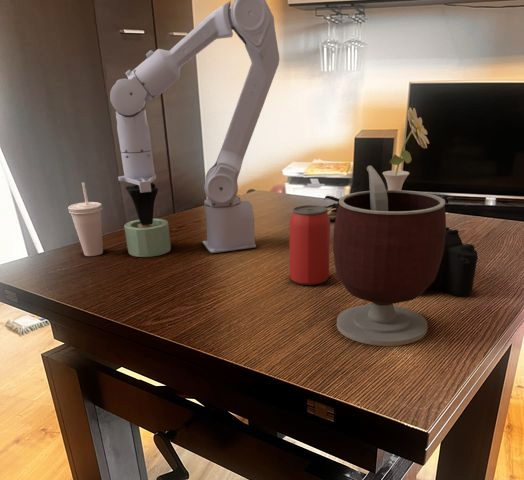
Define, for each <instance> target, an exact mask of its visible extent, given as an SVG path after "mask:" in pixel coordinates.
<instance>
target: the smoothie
mask: <svg viewBox="0 0 524 480" xmlns="http://www.w3.org/2000/svg"><path fill="white" fill-rule="evenodd" d="M81 186H82V187H81V188H82V191H83V197H84V201H83V202H77V203H73V204H70V205H69V206H68V207H67V209H68V213H69V214H70V215H71V218H72V222H73V225H74V227H75V231H76V234H77V237H78V239H79V243H80V245H81V246H80V247H81V249H82V252H83V255H84V256H86V257H94V256H95V257H96V256H100V255H102V254H103V253H104V246H103V245H104V243H103V224H102V211H103V206H102V203H101V202H97V201H89V198H88V194H87V193H88V192H87V187H86V182H84V181H83V182H81Z"/></svg>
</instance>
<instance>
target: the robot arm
mask: <svg viewBox="0 0 524 480" xmlns="http://www.w3.org/2000/svg"><path fill="white" fill-rule="evenodd" d="M231 2H232V0H229V1H227V2H225V3H223V4H222V5H221V6H219V7H217V8H216V9H214V10H213V11H212V12H211V13H210V14H208V15H207V16H206V17H204V19H202V20H201V22H199V23H198V25H196V26H195V27H194V28H193V29H191V31H190V32H188V33H187V34H186V35H185V36H184V37H183V38H181V40H179V41H178V42H177V43H176V44H175V45H174V46H173V47H171V48H170V50H166V49H163V48H157V49H156V50H155V51H153V49H150V50H149V51H148V52H146V54H145V56H146V58H145V60H143V61H142V62H141V63H140V64H139V65H137V66H136V67H135V68H134V69H128V70H127V71H126V72H125V73H124V74H125V75H126V77H127V78H120V79H117V80H116V81H115V84H114V85H113V86H112V87H111V89H110V91H109V92H110V93H109V100H110V104H111V105H112V107H113V109H114V110H115V119H116V129H117V136H118V143H119V149H120V156H121V162H122V169H123V175H119V176H117V178H118V181H119V182H126V183H129V184H133V185H127V186H125V189H126V191H127V193H128V194H129V196H130V198H131V200H132V202H133V206H134V208H135V212H136V216H137V217H138V220H140V222H141V224H142V225H149V224H152V222H153V219H154V207H155V201H156V198H157V195H158V192H159V188H158V187H156V184H155V183H154V181H155V180H156V179H157V174H156V173H155V165H154V158H153V157H154V156H153V150H152V142H151V135H150V127H149V123H148V119H147V110H146V108H147V105H148V102H149V101H153V102H154V101H155V99H157V98H158V97H159V96H161V95H162V94H163V93H164V92H166V91H167V90H168V89H169V88H170V87H172V86H173V85H174V84H175V83H177V82H178V81H179V80H180V77H181V69H182V67H183V66H184V65H185V64H186V63H188V62H189V61H190V60H191V59H194V57H195V56H197V55H198V54H200V52H202V51H203V50H204V49H206V48H207V47H208V46H210V45H211V44H212V43H214V41H216V40H220V39H221V40H222V39H228V38H233V36H234V33H235V34H236V35H237V37H238V38H239V40H240V41H242V43H243V44H244V47H245V50H246V52H247V55H248V57H249V59H250V61H251V62H250V66H249V69H248V72H247V75H246V78H245V81H244V84H243V86H242V89H241V92H240V94H239V97H238V100H237V103H236V106H235V108H234V112H233V115H232V117H231V120H230V122H229V125H228V129H227V131H226V134H225V137H224V139H223V143H222V145H221V148H220V150H219V153H218V156H217V158H216V161H215V163H214V164H213V165H212V166H211V167H210V168H209V169H208V170H207V172H206V175H205V182H204V188H203V189H204V194H205V196H206V199H204V201H203V203H204V216H205V228H206V229H205V230H206V240H203V241H202V244H203V246H204V247H205V248H206V249H207V250H208V252H209V253H210V254H217V253H218V254H219V253H224V252H232V251H240V250H248V249H256V248H257V245H256V237H255V235H256V234H255V233H256V232H255V214H254V208H253V205H252V203H251V201H250V200H241V197H239V196H238V191H239V185H238V179H239V175H240V173H241V170H242V166H243V163H244V158H245V155H246V153H247V150H248V148H249V145H250V142H251V141H252V140H251V139H252V138H253V134H254V132H255V129H256V126H257V123H258V121H259V118H260V115H261V113H262V110H263V108H264V105H265V102H266V98H267V97H268V94H269V91H270V89H271V86H272V84H273V80H274V78H275V75H276V73H277V70H278V67H279V65H280V51H279V46H278V45H279V44H278V40H277V33H276V26H275V25H276V24H275V17H274V14H273V12H272V11H271V9H270V7H269V4H268V2H267V1H266V0H233V2H232V3H231ZM233 31H234V33H233Z"/></svg>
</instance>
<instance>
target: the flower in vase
mask: <svg viewBox="0 0 524 480" xmlns="http://www.w3.org/2000/svg"><path fill="white" fill-rule="evenodd" d="M407 119H408V120H407V121H408V123H409V126H410V129H411V130H410V132H409V133H408V135H407V137H406V139H405V140H404V143H403V144H402V147H401V150H400V154H399V156H398V155H397V154H395V153H394V154H393V156H392V158H391V159H390V160H389V164H390V165H393V166H396V169H395V170H386V171H383V172H382V175H383V177H384V178H385V182H386V186H387V190H403V189H402V188H403V185H404V183H405V181H406V180H407V178H408V176H409V175H410V172H409V171H406V170H399V168H400V165H401V164H402V163H403V162H405V163H406V164H410V163H411V162H412V156H411V153H410V152H409V151H408V150H406V149H405V147H406V145H407V143H408V141H409V139H410V137H411V136H412V135H413V137H414V139H415V140H416V142H417V144H418V145H419V146H420V147H421V148H423V149H428V145H429V144H430V141H429V139H428V137H427V135H428V131H427V129H426V128H425V126H424V125H423V119H422V117H418V114H417V110H416V108H415V107H413V109H412V107H411V106H410V107H409V108H408V109H407Z"/></svg>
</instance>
